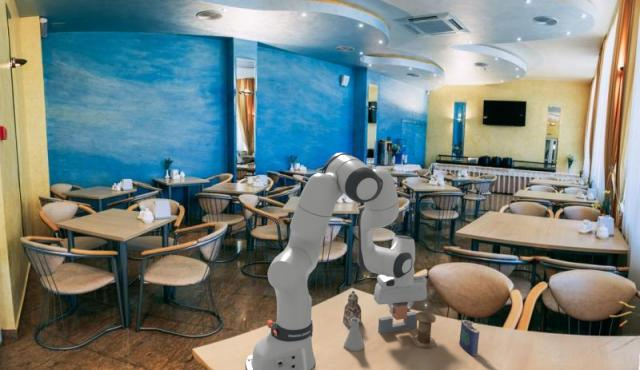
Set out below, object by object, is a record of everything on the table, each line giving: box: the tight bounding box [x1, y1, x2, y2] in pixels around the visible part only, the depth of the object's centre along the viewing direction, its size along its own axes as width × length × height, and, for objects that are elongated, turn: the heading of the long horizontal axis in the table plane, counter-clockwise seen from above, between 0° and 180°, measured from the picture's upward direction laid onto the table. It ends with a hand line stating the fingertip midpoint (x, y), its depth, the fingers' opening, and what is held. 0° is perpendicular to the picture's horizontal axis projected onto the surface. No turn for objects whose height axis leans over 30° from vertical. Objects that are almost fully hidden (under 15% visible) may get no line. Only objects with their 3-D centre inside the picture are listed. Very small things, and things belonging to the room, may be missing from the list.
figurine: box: [342, 290, 362, 327], centre depth 162 cm, size 7×7×12 cm
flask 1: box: [343, 318, 365, 352], centre depth 145 cm, size 7×7×10 cm
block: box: [391, 302, 409, 321], centre depth 157 cm, size 4×3×6 cm
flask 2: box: [458, 319, 480, 358], centre depth 145 cm, size 9×3×11 cm, turn 13°
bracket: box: [377, 311, 418, 335], centre depth 158 cm, size 16×2×6 cm, turn 112°
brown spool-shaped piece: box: [411, 311, 437, 349], centre depth 149 cm, size 8×8×10 cm
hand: (399, 312), depth 157 cm, fingers closed on block, 5 cm apart
